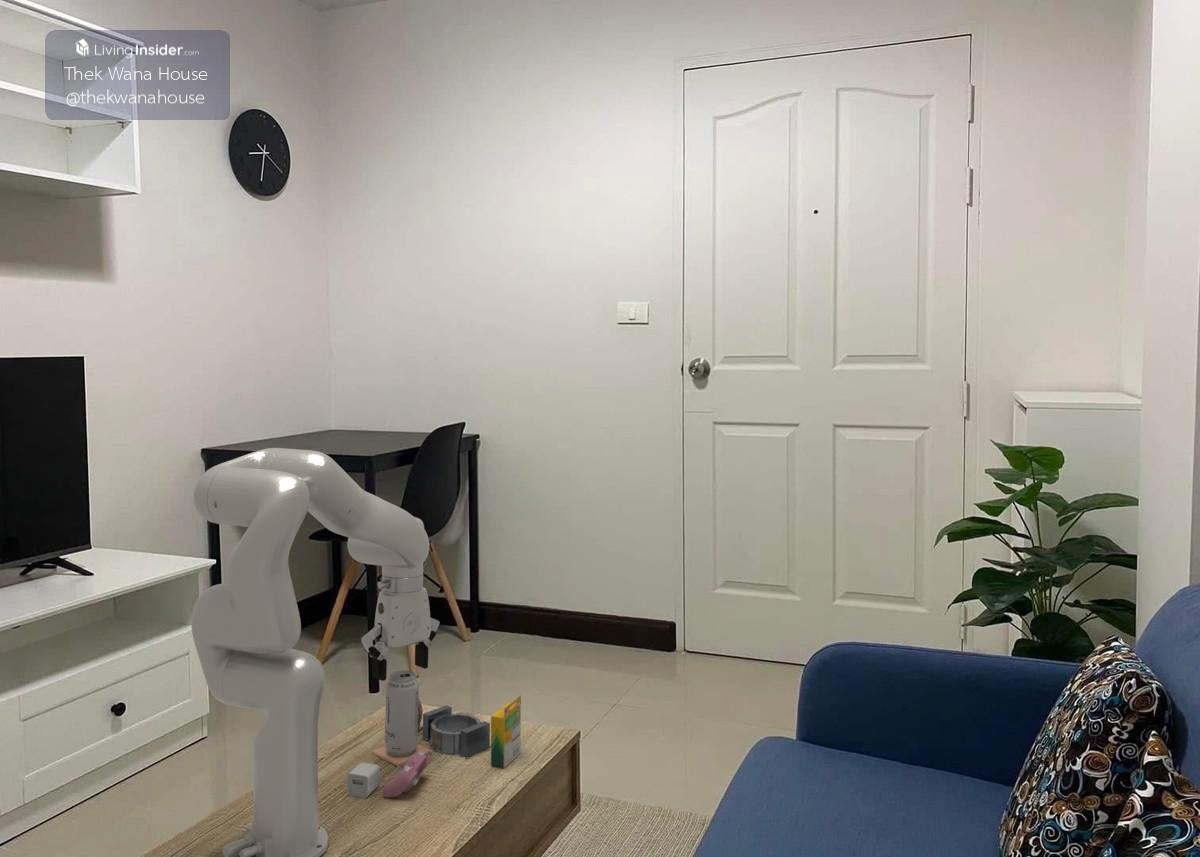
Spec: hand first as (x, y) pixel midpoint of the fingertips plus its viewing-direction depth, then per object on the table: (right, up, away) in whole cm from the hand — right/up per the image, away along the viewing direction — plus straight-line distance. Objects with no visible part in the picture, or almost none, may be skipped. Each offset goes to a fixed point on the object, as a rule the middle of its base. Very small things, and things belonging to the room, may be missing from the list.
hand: (400, 672), depth 179 cm
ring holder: (+9, -16, +7) cm, 19 cm away
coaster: (0, -16, +2) cm, 16 cm away
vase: (-2, -15, +13) cm, 20 cm away
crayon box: (+20, -17, +1) cm, 26 cm away
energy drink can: (0, -16, +2) cm, 16 cm away
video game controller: (+3, -18, -11) cm, 21 cm away
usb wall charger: (-4, -18, -11) cm, 21 cm away
